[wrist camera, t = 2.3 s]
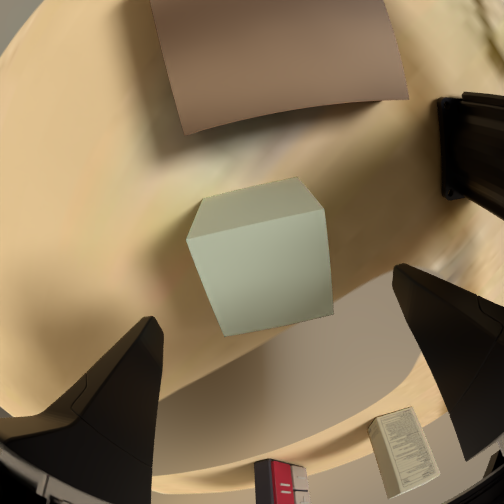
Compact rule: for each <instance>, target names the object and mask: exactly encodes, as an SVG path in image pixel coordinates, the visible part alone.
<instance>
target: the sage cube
mask: <svg viewBox="0 0 504 504" xmlns="http://www.w3.org/2000/svg"><path fill="white" fill-rule="evenodd" d="M186 242H187V244H188V247H189V250H190V253H191V255H192V258H193V261H194V263H195V266H196V268H197V271H198V274H199V276H200V279H201V281H202V284H203V286H204V289H205V291H206V294H207V296H208V299H209V301H210V304H211V306H212V309H213V311H214V313H215V316H216V318H217V321H218V323H219V325H220V328H221V330H222V332H223V335H224V337H226V336H232V335H238V334H244V333H249V332H255V331H260V330H265V329H271V328H276V327H280V326H285V325H290V324H295V323H299V322H303V321H308V320H312V319H316V318H321V317H325V316H329V315H333V314H334V311H333V294H332V280H331V267H330V256H329V246H328V236H327V227H326V219H325V211H324V208H323V207H322V205H321V204H320V203H319V202H318V200H317V199H316V198H315V197H314V196H313V194H312V193H311V192H310V191H309V190H308V188H307V187H306V186H305V185H304V184H303V182H302V181H301V180H300V179H299V178H298V177H294V178H289V179H284V180H280V181H275V182H270V183H266V184H261V185H257V186H252V187H248V188H243V189H239V190H235V191H231V192H227V193H222V194H218V195H214V196H211V197H207V198H203V200H202V202H201V205H200V207H199V209H198V212H197V214H196V216H195V219H194V221H193V223H192V226H191V228H190V231H189V233H188V236H187V238H186Z"/></svg>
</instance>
